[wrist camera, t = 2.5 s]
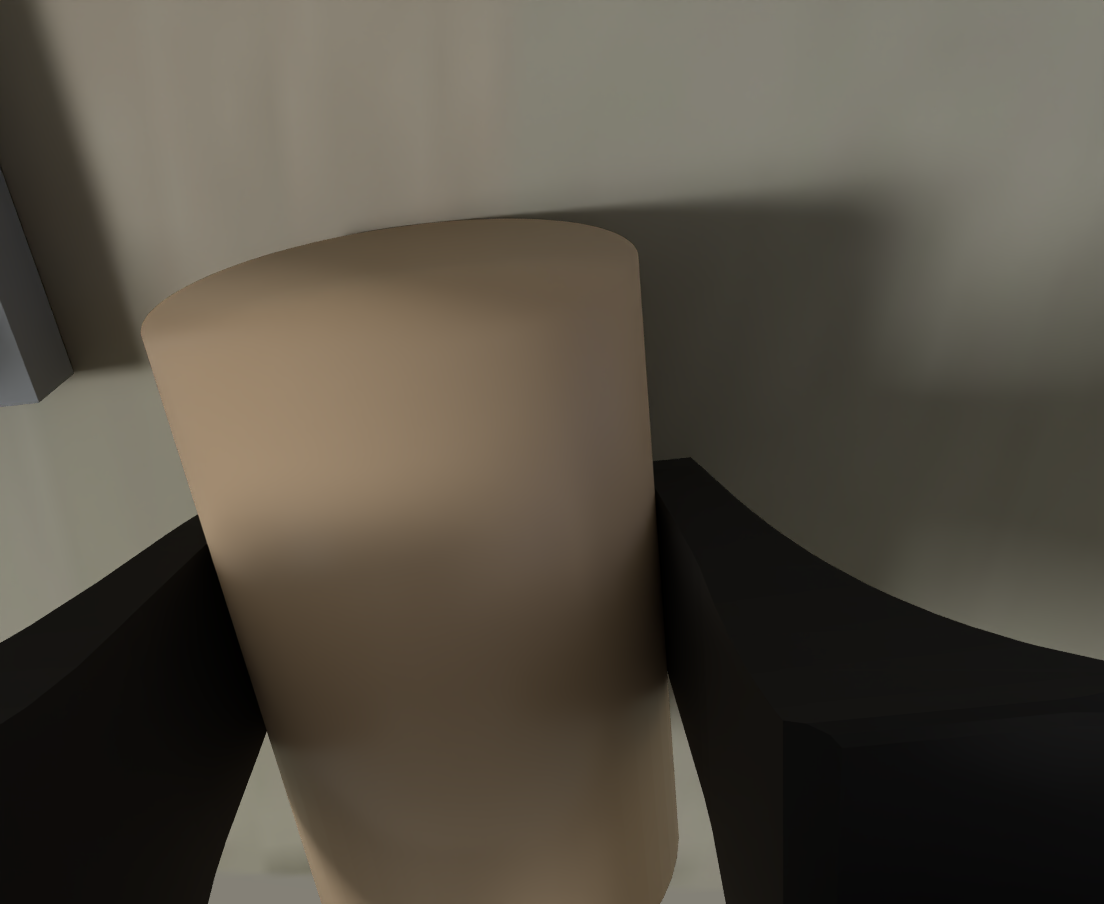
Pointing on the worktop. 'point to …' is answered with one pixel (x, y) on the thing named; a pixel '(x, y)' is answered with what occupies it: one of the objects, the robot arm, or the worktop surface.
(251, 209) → the worktop surface
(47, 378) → the holder
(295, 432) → the beige rounded cylinder
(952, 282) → the worktop surface
